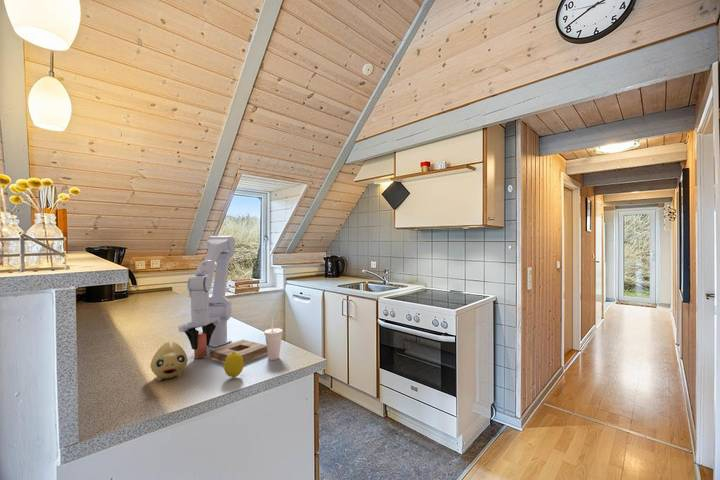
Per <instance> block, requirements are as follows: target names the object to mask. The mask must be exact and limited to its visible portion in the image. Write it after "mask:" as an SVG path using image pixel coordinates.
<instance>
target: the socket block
mask: <svg viewBox="0 0 720 480" xmlns="http://www.w3.org/2000/svg"><path fill="white" fill-rule="evenodd" d="M232 352H236V353H239V354H240V355H241V356H242V358H243V363H244V364H246V363H249V362H251V361H253V360H254V361H255V360H256V359H259V358H261V357H263V356H266V355H268V352H267V345H266V344H262V343H259V342H255V341H251V340H247V339H241V340H237V341H234V342H230V343H227V344H224V345H220V346H217V347H214V348H212V349H210V350H209V359H210V360H212V361H216V362H219V363H223V364H224V362H225V359H226V357H227V356H228V355H229V354H231V353H232Z"/></svg>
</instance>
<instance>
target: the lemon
mask: <svg viewBox="0 0 720 480" xmlns="http://www.w3.org/2000/svg"><path fill="white" fill-rule="evenodd" d="M244 364H245V363H243V358H242V356H241V355H240V354H239V353H236V352H232V353H231V354H229V355H228V356H227V357H226V359H225V362H224V363H223V369H224V373H225V375H226V376H228V377H230V378H232V379H236V378H237V377H238V376H239V375H241V373H243V369H244V367H245V366H244Z"/></svg>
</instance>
